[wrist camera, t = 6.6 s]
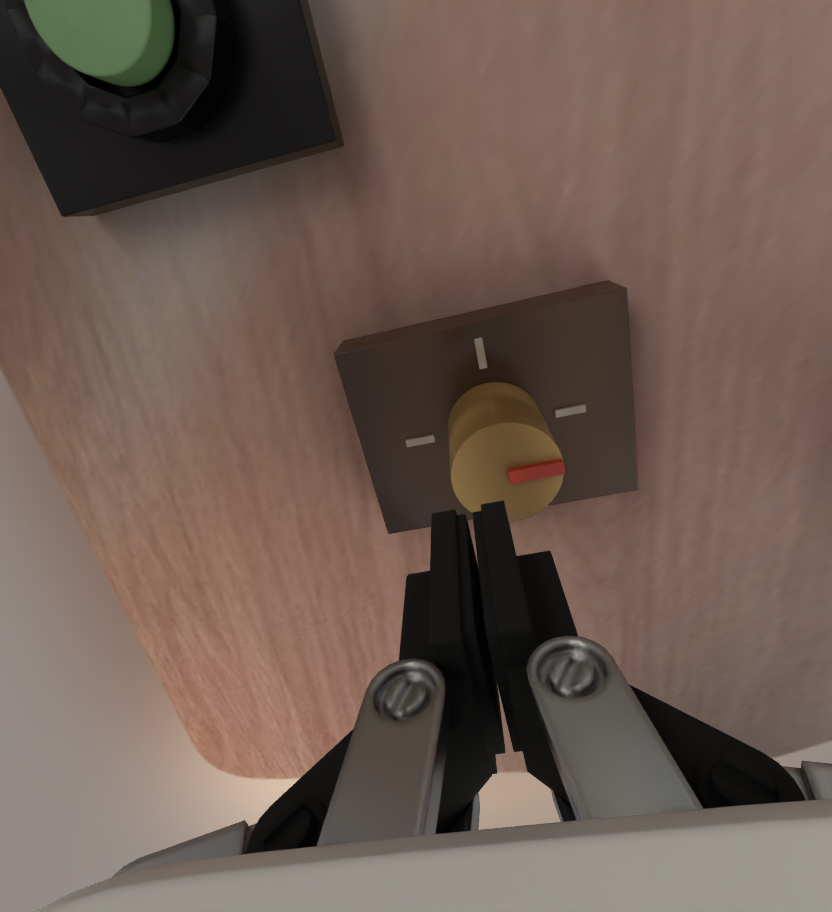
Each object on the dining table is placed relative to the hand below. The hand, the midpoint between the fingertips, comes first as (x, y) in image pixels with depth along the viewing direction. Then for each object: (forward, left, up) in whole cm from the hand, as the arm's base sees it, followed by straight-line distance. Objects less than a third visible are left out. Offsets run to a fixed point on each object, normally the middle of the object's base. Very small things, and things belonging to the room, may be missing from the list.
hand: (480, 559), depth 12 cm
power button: (-9, +16, -12) cm, 22 cm away
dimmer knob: (+1, -2, -13) cm, 14 cm away
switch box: (-9, +16, -16) cm, 24 cm away
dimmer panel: (+1, -2, -16) cm, 16 cm away
